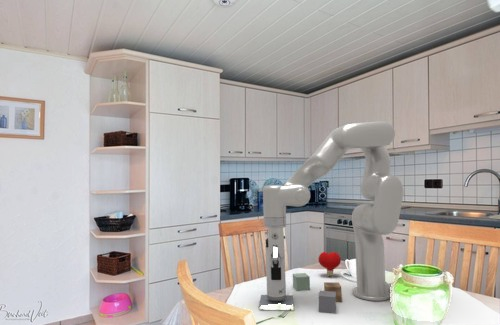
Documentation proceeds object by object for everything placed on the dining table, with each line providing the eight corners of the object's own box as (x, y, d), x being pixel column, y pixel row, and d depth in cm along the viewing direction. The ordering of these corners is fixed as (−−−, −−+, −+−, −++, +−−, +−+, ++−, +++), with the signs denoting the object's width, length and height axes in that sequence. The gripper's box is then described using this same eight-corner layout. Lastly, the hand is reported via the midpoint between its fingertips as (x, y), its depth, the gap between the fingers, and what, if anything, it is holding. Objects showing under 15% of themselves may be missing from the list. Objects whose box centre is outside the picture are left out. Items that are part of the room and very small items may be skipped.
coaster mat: (292, 298, 110) (292, 295, 110) (294, 310, 99) (294, 307, 99) (261, 297, 111) (261, 294, 111) (258, 310, 100) (258, 307, 100)
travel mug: (286, 301, 102) (284, 237, 103) (265, 300, 103) (264, 237, 104) (287, 294, 108) (285, 234, 109) (268, 293, 109) (266, 234, 110)
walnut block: (339, 297, 111) (338, 282, 111) (341, 302, 106) (341, 287, 106) (324, 297, 111) (324, 282, 111) (326, 302, 106) (326, 287, 106)
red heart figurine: (320, 278, 132) (319, 254, 132) (317, 274, 138) (316, 250, 139) (343, 278, 131) (342, 253, 132) (339, 273, 138) (338, 250, 139)
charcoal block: (336, 307, 101) (335, 291, 102) (335, 314, 97) (335, 297, 97) (320, 306, 103) (319, 290, 103) (319, 312, 98) (318, 295, 98)
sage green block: (305, 286, 123) (305, 272, 123) (309, 290, 118) (309, 276, 118) (293, 287, 122) (292, 273, 123) (297, 291, 117) (296, 277, 118)
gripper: (286, 225, 98) (288, 285, 97) (285, 218, 115) (287, 269, 114) (262, 225, 99) (263, 284, 98) (265, 219, 116) (266, 269, 115)
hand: (276, 276), depth 106 cm, fingers open, 6 cm apart
